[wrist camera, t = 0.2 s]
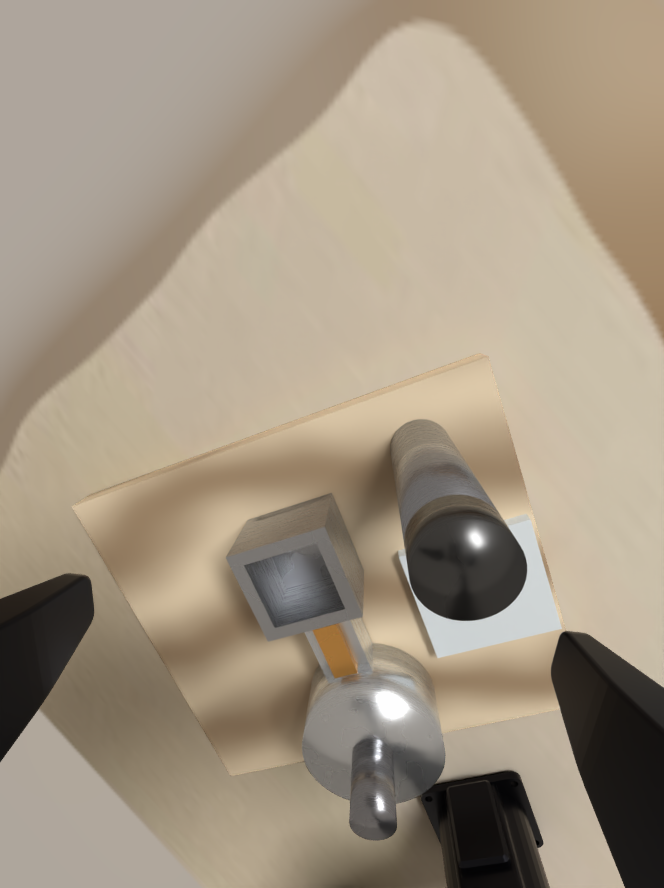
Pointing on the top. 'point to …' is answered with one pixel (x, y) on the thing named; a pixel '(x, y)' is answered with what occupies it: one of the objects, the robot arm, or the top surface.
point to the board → (373, 535)
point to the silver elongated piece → (342, 664)
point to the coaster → (515, 622)
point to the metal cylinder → (452, 529)
